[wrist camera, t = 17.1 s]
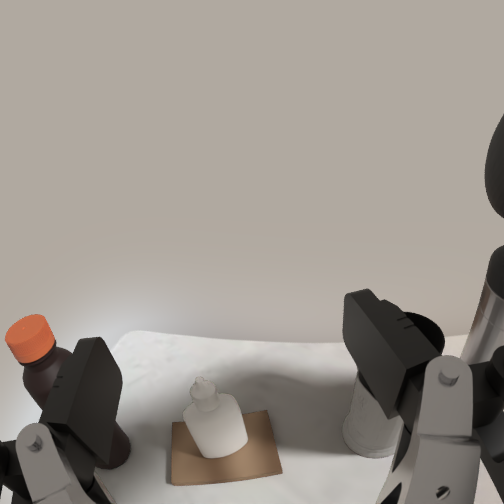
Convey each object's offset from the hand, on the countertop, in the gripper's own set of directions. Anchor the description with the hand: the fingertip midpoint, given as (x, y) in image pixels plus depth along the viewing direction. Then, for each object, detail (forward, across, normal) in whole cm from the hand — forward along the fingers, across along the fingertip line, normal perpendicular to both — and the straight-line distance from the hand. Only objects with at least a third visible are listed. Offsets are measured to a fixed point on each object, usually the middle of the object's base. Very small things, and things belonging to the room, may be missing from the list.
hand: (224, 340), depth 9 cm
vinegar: (+10, +20, +26) cm, 34 cm away
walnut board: (+10, +4, +26) cm, 28 cm away
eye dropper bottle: (+10, +4, +25) cm, 27 cm away
